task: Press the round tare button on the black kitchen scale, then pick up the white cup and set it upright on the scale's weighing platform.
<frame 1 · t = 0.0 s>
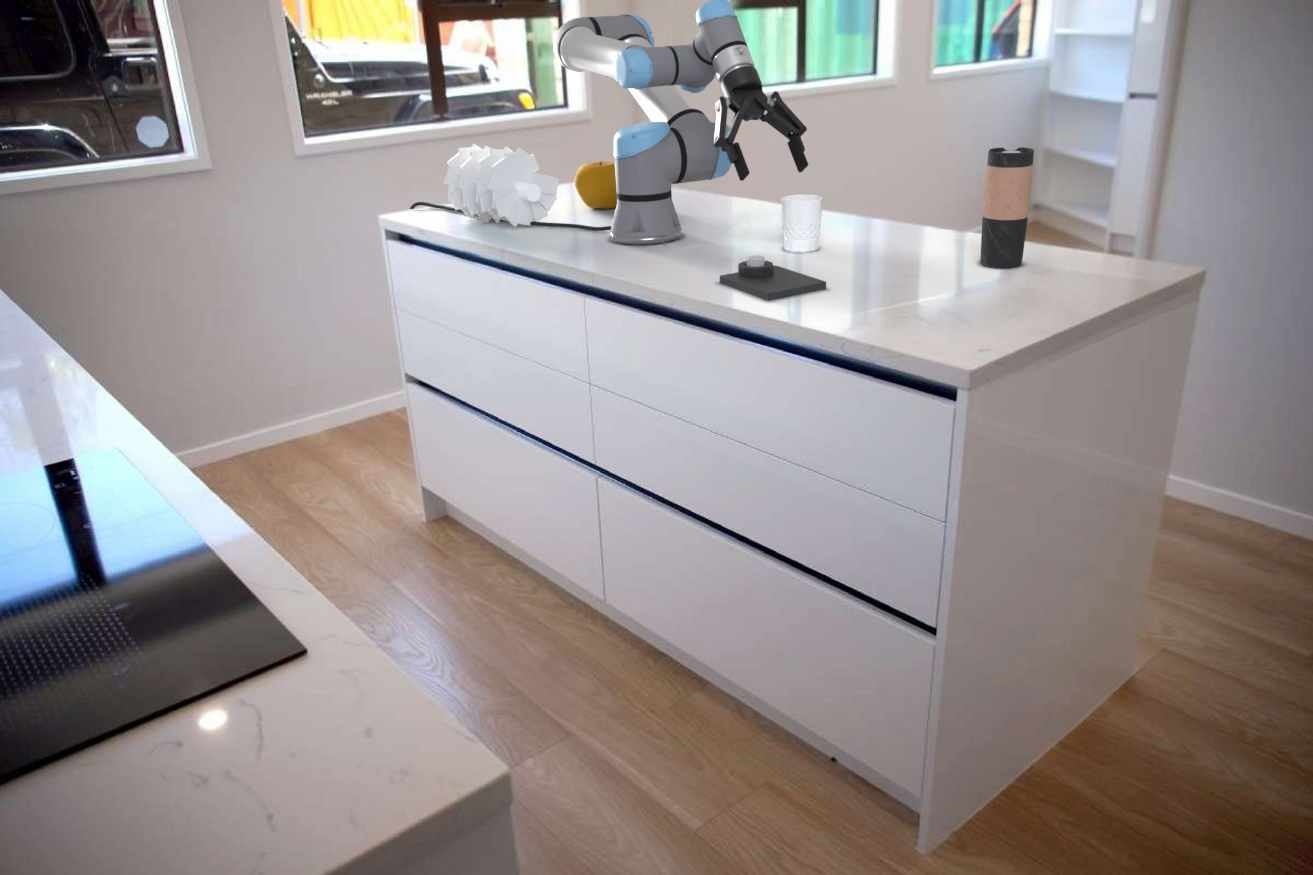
hand: (774, 173, 191), 15 cm above the worktop, tool tilted 35°, fingers open, 13 cm apart
white cup: (801, 249, 198), on the worktop
tare button: (755, 261, 176), point 3 cm above the worktop, slide at 0.1 cm
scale: (771, 286, 173), on the worktop
spiral staircase: (503, 223, 238), on the worktop
apple: (602, 209, 249), on the worktop
travel mug: (1000, 265, 180), on the worktop
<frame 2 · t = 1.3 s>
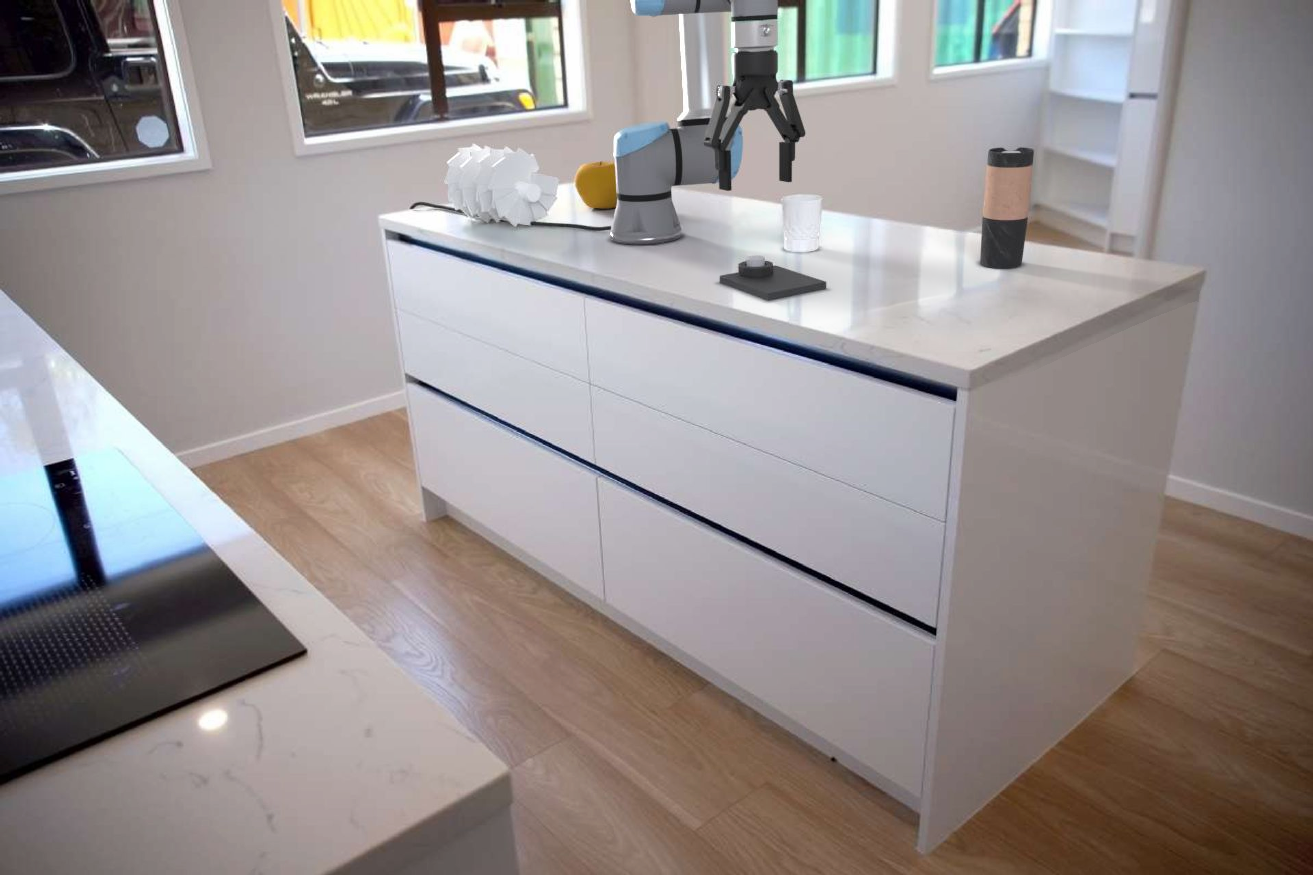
hand: (755, 185, 171), 17 cm above the worktop, tool pointing down, fingers open, 12 cm apart
nothing on the worktop moved.
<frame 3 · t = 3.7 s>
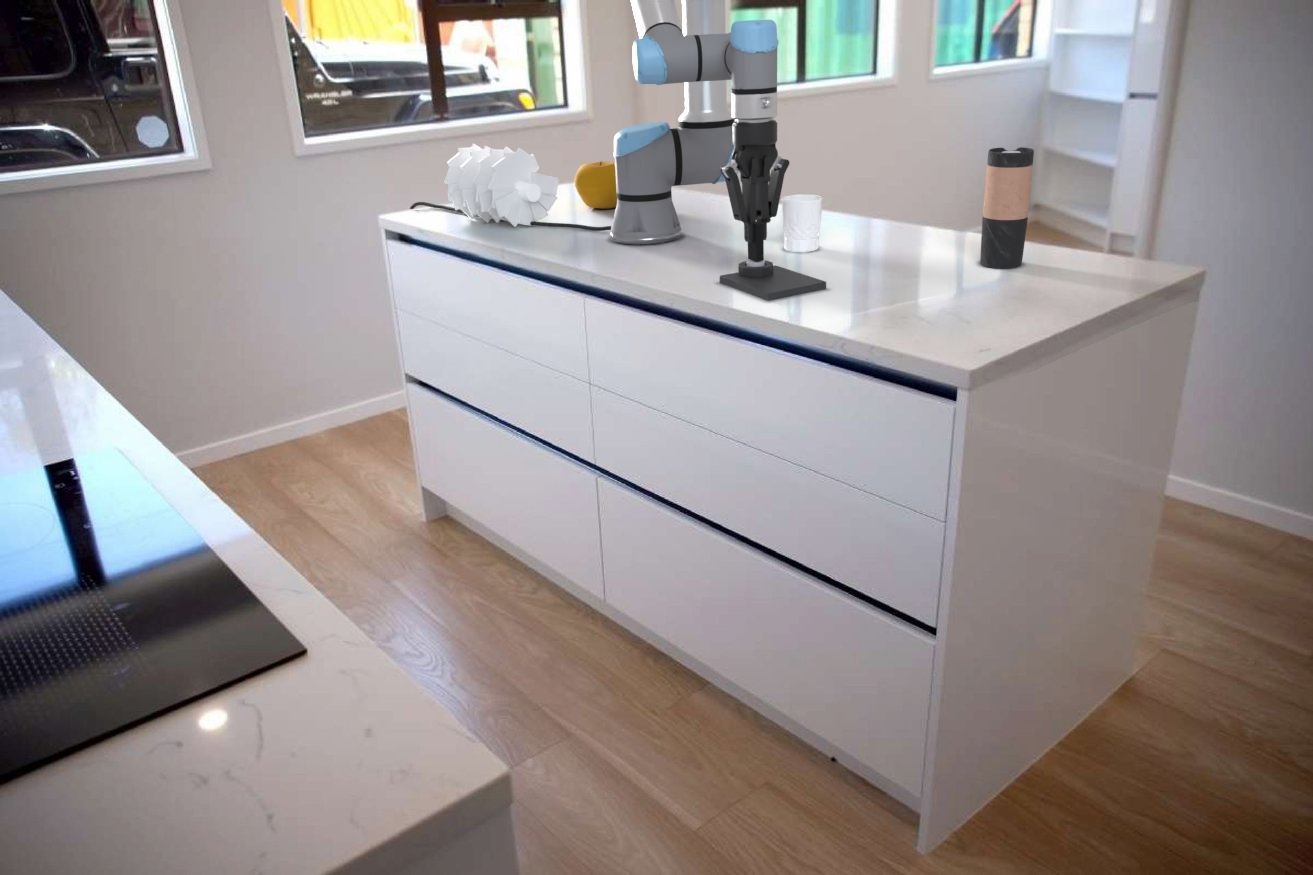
hand: (755, 259, 175), 4 cm above the worktop, tool pointing down, fingers closed
tare button: (755, 265, 176), point 3 cm above the worktop, slide at -0.5 cm, touching gripper
everything else where it was.
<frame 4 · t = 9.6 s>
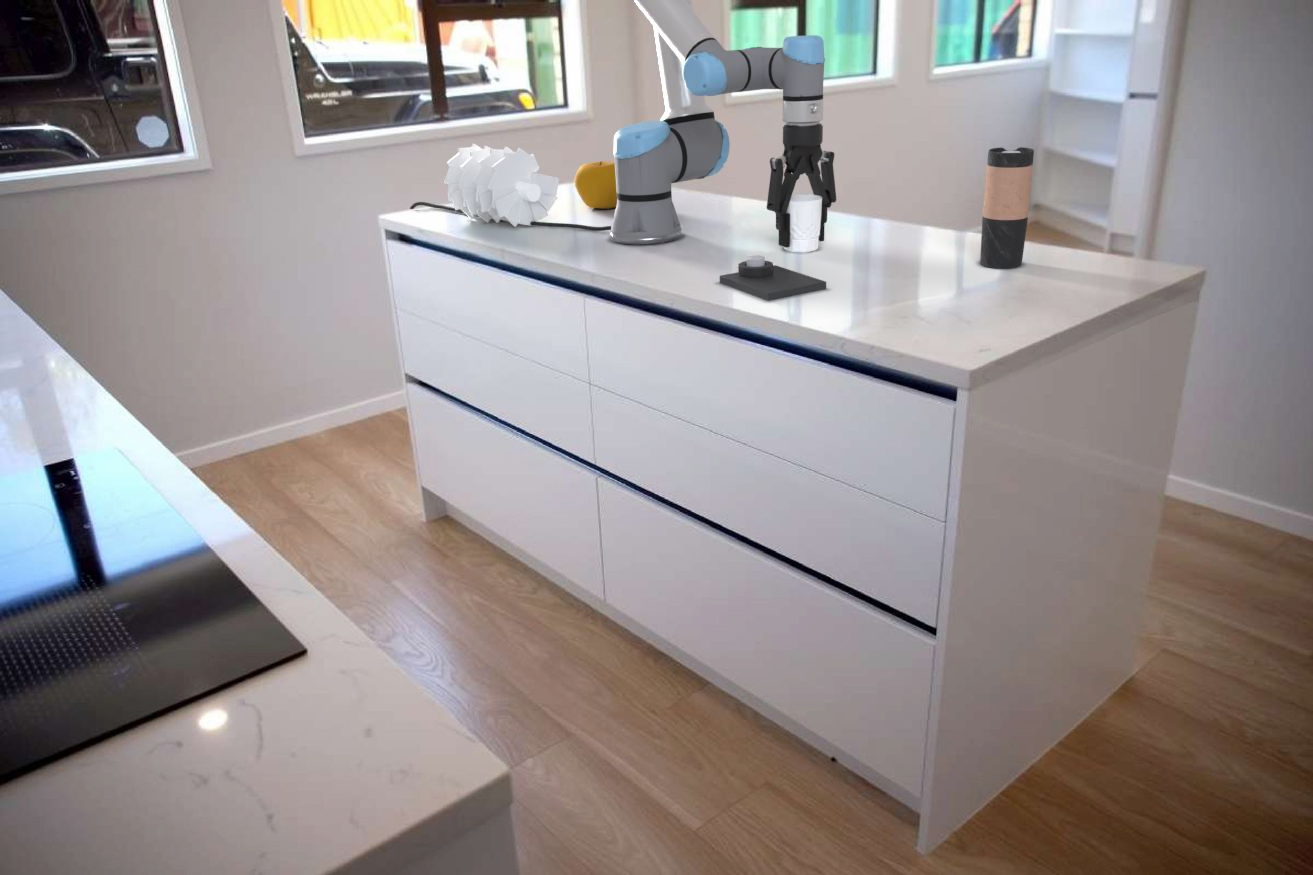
hand: (801, 243, 198), 1 cm above the worktop, tool pointing down, fingers closed on white cup, 8 cm apart
white cup: (801, 249, 198), on the worktop, touching gripper
tare button: (755, 261, 176), point 3 cm above the worktop, slide at 0.1 cm
everything else where it was.
when the fingers open (3 cm above the worktop, at t = 17.7 s): white cup stays where it is, resting on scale.
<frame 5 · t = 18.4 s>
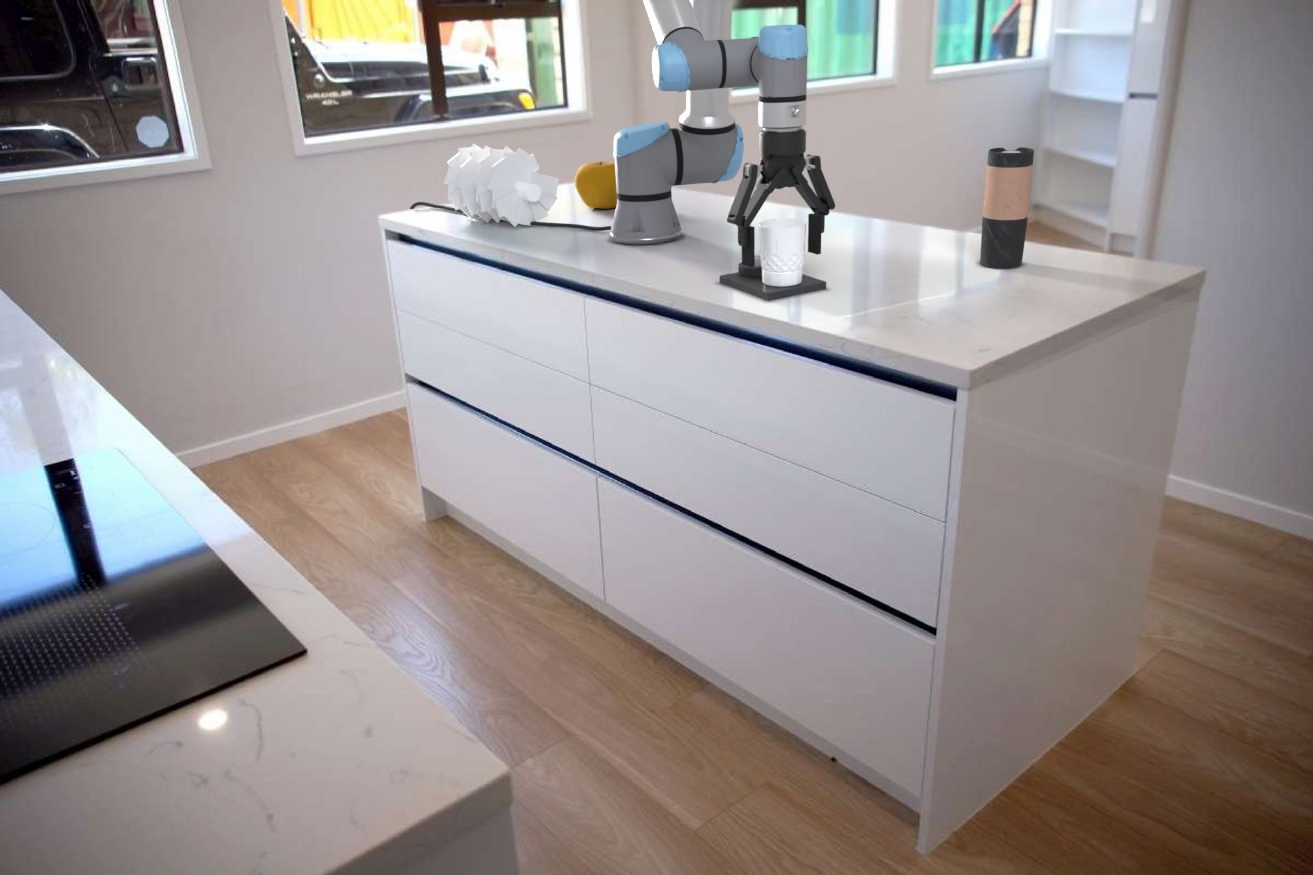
hand: (781, 259, 169), 5 cm above the worktop, tool pointing down, fingers open, 13 cm apart
white cup: (782, 283, 170), point 1 cm above the worktop, touching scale
everything else where it was.
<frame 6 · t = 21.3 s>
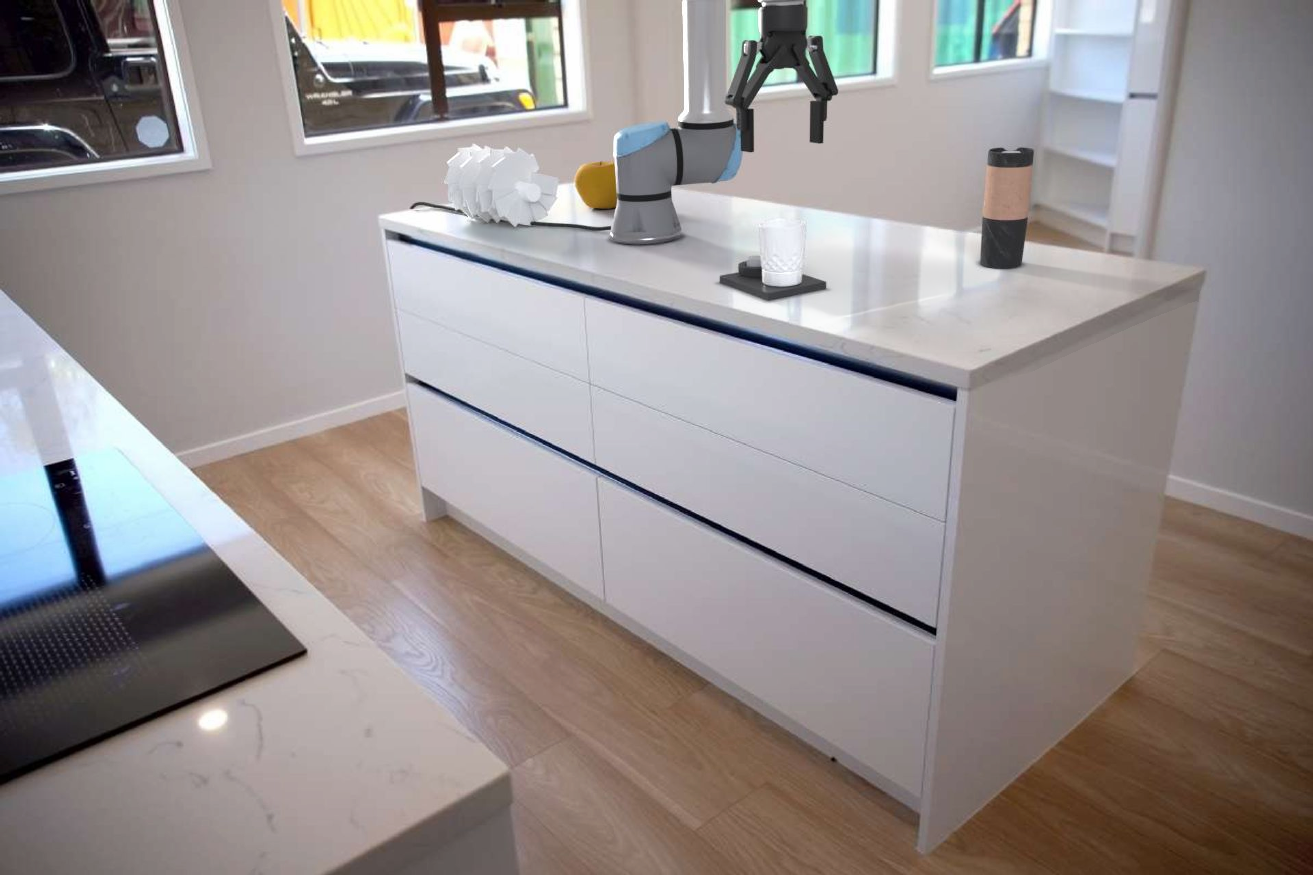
hand: (782, 147, 161), 24 cm above the worktop, tool pointing down, fingers open, 13 cm apart
nothing on the worktop moved.
at the end: tare button pushed in 0.8 cm at the most during the clip, back to where it started at the end; white cup inside the target area on the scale (0.1 cm from its centre), point 1.2 cm above the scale's base; white cup tilted 0°; the gripper is holding nothing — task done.
